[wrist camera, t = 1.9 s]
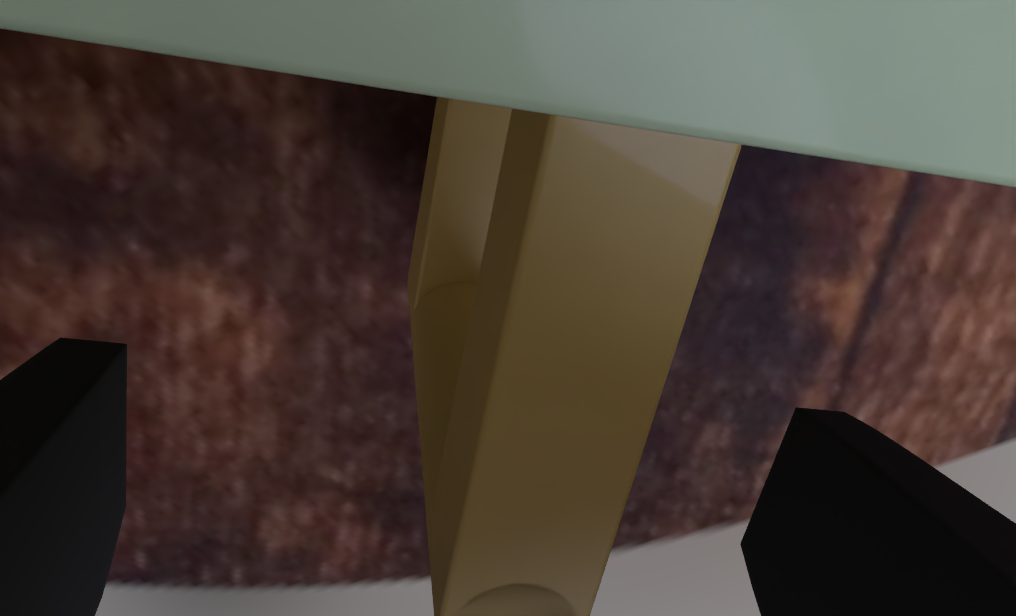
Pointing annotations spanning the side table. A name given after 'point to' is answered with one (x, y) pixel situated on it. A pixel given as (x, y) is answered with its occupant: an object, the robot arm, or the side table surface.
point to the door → (586, 209)
